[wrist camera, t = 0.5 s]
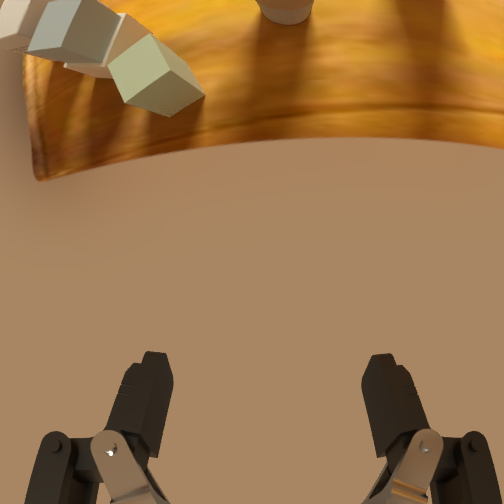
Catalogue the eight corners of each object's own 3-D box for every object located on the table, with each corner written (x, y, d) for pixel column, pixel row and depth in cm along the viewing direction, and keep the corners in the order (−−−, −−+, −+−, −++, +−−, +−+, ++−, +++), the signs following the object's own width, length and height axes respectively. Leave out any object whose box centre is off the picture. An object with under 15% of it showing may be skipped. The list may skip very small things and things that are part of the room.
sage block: (153, 86, 31) (107, 65, 21) (187, 63, 29) (149, 33, 20) (169, 117, 31) (124, 103, 22) (205, 95, 30) (170, 70, 21)
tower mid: (84, 20, 22) (48, 2, 16) (121, 16, 22) (85, -7, 15) (67, 63, 24) (26, 51, 17) (102, 63, 24) (60, 47, 17)
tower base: (112, 33, 29) (83, 17, 22) (153, 33, 28) (126, 12, 22) (95, 77, 31) (63, 67, 24) (135, 80, 31) (104, 67, 24)
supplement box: (71, 14, 28) (9, -13, 14) (111, 7, 28) (48, -32, 13) (52, 62, 31) (-17, 46, 17) (90, 60, 30) (15, 34, 16)
